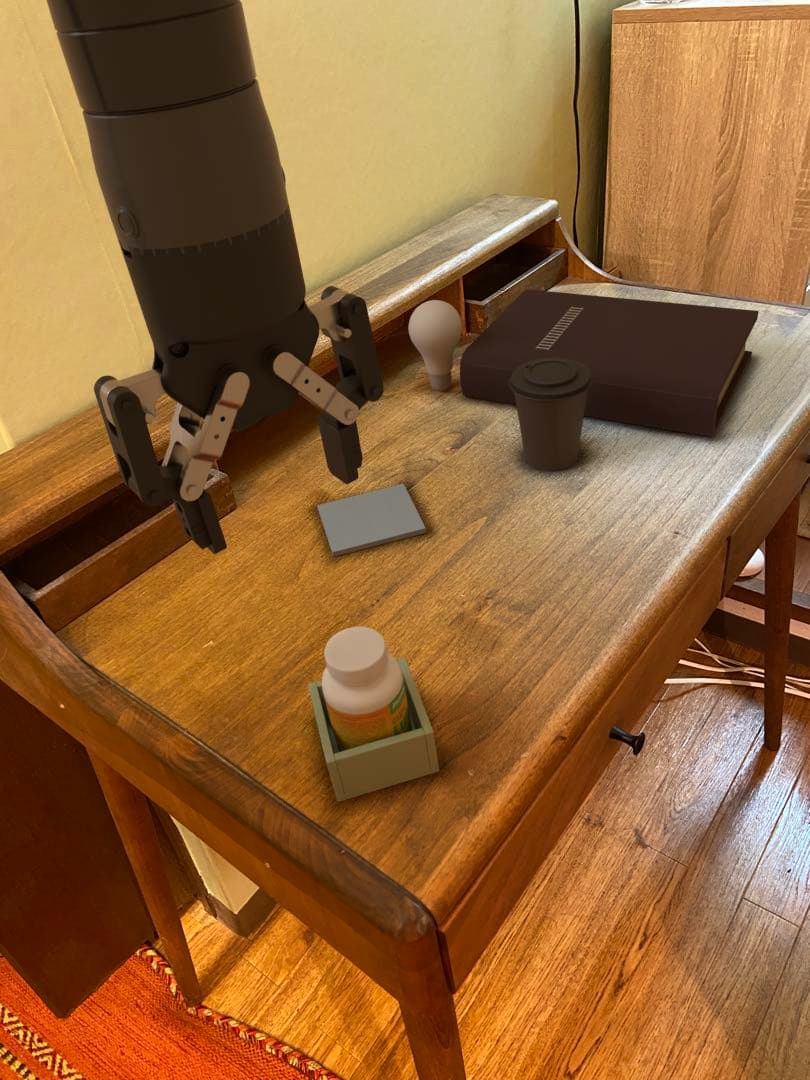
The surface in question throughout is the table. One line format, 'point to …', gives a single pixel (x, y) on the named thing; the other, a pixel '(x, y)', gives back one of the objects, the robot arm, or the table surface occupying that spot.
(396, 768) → the caddy
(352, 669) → the supplement bottle
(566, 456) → the coffee cup
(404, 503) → the mat
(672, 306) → the book
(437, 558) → the table surface
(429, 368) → the lightbulb
